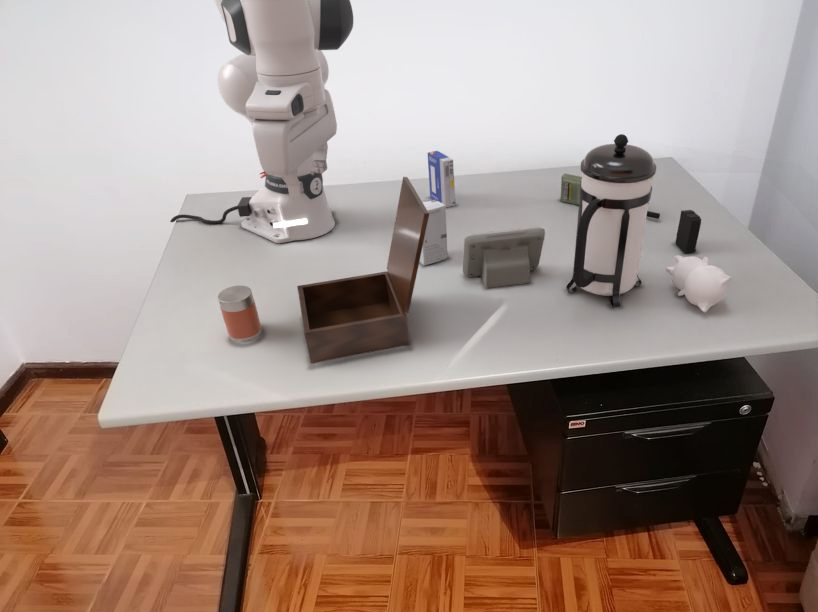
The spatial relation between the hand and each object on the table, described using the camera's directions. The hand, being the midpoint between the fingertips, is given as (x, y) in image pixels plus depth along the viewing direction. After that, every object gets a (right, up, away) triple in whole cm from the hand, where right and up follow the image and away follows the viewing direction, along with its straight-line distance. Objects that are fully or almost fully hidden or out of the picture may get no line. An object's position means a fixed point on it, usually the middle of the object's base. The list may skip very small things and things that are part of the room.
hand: (309, 182), depth 99 cm
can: (-15, -24, +15) cm, 32 cm away
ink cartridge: (+72, -4, +38) cm, 81 cm away
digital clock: (+32, -11, +30) cm, 45 cm away
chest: (+4, -23, +15) cm, 28 cm away
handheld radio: (+59, +7, +54) cm, 80 cm away
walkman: (+19, +11, +61) cm, 65 cm away
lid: (+14, -8, +8) cm, 18 cm away
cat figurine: (+69, -16, +22) cm, 74 cm away
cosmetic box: (+17, -7, +37) cm, 41 cm away
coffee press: (+51, -15, +24) cm, 58 cm away
